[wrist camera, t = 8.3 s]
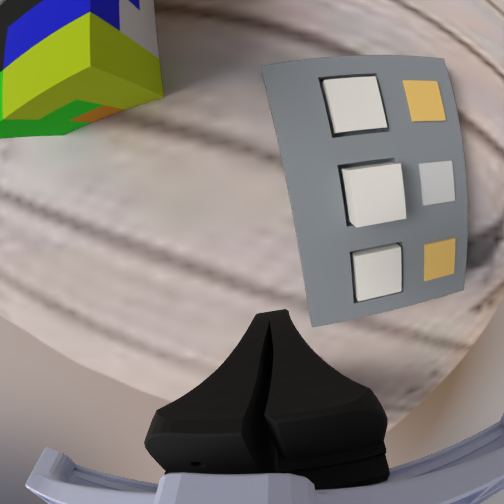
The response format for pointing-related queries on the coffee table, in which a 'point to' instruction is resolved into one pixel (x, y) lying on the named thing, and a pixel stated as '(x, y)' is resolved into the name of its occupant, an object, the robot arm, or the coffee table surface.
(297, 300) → the coffee table surface
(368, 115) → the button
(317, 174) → the button board
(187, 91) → the coffee table surface
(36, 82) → the puzzle toy
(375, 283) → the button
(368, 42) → the coffee table surface
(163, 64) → the coffee table surface
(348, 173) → the button middle
